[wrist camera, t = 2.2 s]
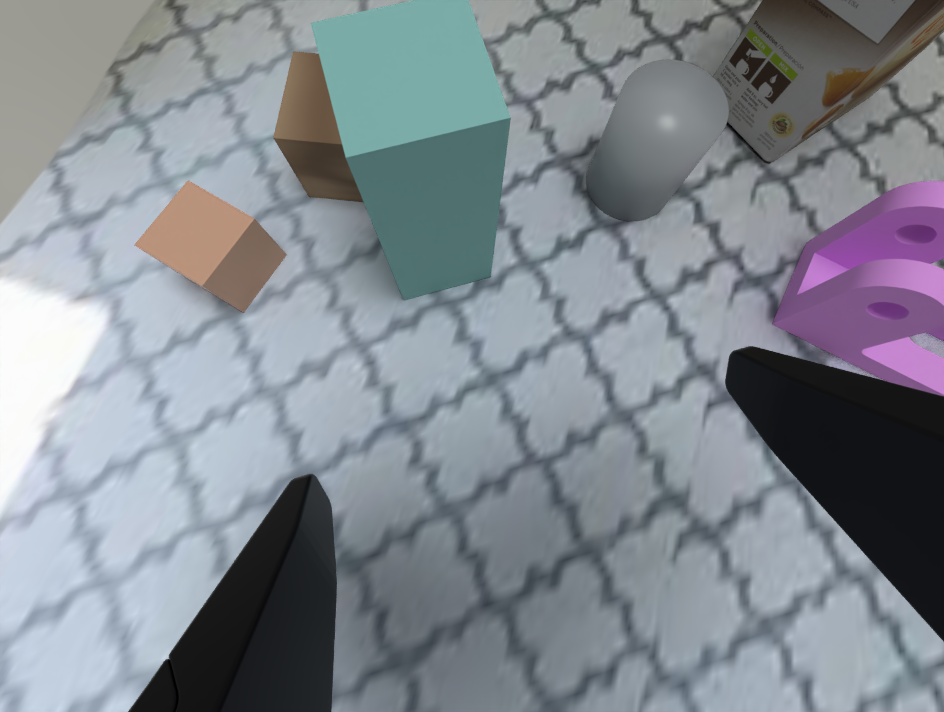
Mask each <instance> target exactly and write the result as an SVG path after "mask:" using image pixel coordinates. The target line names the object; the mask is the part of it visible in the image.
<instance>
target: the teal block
mask: <svg viewBox="0 0 944 712" xmlns="http://www.w3.org/2000/svg"><path fill="white" fill-rule="evenodd" d="M311 25H312V29H313V33H314V37H315V41H316V45H317V49H318V52H319V56H320V60H321V64H322V68H323V72H324V76H325V80H326V83H327V87H328V91H329V95H330V99H331V103H332V107H333V111H334V114H335V118H336V122H337V126H338V130H339V134H340V138H341V141H342V145H343V149H344V153H345V157H346V160H347V162H348V165H349V167H350V170H351V172H352V174H353V177H354V179H355V182H356V184H357V187H358V189H359V192H360V194H361V197H362V199H363V201H364V204H365V206H366V209H367V211H368V214H369V216H370V219H371V221H372V224H373V226H374V229H375V231H376V233H377V236H378V238H379V241H380V243H381V246H382V248H383V251H384V253H385V256H386V258H387V260H388V263H389V265H390V268H391V270H392V273H393V275H394V278H395V280H396V283H397V285H398V288H399V290H400V292H401V295H402V297H403V300H407V299H410V298H414V297H418V296H422V295H425V294H429V293H433V292H437V291H440V290H444V289H448V288H451V287H455V286H459V285H463V284H466V283H470V282H474V281H478V280H481V279H485V278H489V277H491V269H492V262H493V254H494V246H495V238H496V230H497V222H498V214H499V206H500V198H501V190H502V182H503V174H504V166H505V158H506V150H507V143H508V135H509V127H510V119H511V117H510V115H509V112H508V109H507V106H506V103H505V101H504V98H503V95H502V92H501V89H500V87H499V84H498V81H497V78H496V76H495V73H494V70H493V67H492V64H491V62H490V59H489V56H488V53H487V50H486V48H485V45H484V42H483V39H482V37H481V34H480V31H479V28H478V25H477V23H476V20H475V17H474V14H473V11H472V9H471V6H470V3H469V0H413V1H408V2H404V3H399V4H395V5H390V6H386V7H381V8H376V9H372V10H367V11H363V12H358V13H354V14H349V15H345V16H340V17H335V18H331V19H326V20H322V21H317V22H313V23H311Z"/></svg>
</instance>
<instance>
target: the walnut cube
mask: <svg viewBox="0 0 944 712" xmlns="http://www.w3.org/2000/svg"><path fill="white" fill-rule="evenodd" d="M274 140H275V141H276V143H277V145H278V146H279V148H280V150H281V151H282V153H283V155H284V156H285V158H286V159H287V161H288V163H289V164H290V166H291V168H292V169H293V171H294V173H295V174H296V176H297V177H298V179H299V181H300V182H301V184H302V186H303V187H304V189H305V191H306V192H307V194H308V196H309V197H317V198H327V199H338V200H348V201H358V202H364V201H363V199H362V197H361V194H360V192H359V189H358V187H357V184H356V182H355V179H354V177H353V174H352V172H351V170H350V167H349V165H348V162H347V160H346V157H345V153H344V149H343V145H342V141H341V138H340V134H339V130H338V126H337V122H336V118H335V114H334V111H333V107H332V103H331V99H330V95H329V91H328V87H327V83H326V80H325V76H324V72H323V68H322V64H321V60H320V56H319V54H315V53H304V52H293V55H292V59H291V63H290V68H289V72H288V77H287V81H286V85H285V90H284V94H283V98H282V103H281V107H280V111H279V116H278V120H277V124H276V129H275V133H274Z"/></svg>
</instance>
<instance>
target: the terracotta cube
mask: <svg viewBox="0 0 944 712" xmlns="http://www.w3.org/2000/svg"><path fill="white" fill-rule="evenodd" d="M135 246H136V247H138V248H140V249H141V250H143V251H144V252H146V253H147V254H149V255H151V256H152V257H154V258H155V259H157V260H159V261H160V262H162V263H163V264H165V265H166V266H168V267H170V268H171V269H173V270H174V271H176V272H177V273H179V274H181V275H182V276H184V277H185V278H187V279H189V280H190V281H192V282H194V283H195V284H197V285H199V286H200V287H202V288H203V289H205V290H207V291H208V292H210V293H212V294H213V295H215V296H217V297H218V298H220V299H222V300H223V301H225V302H227V303H228V304H230V305H231V306H233V307H235V308H236V309H238V310H240V311H241V312H243V313H244V312H245V310H246V309H247V308H248V306H249V305H250V303H251V302H252V301H253V299H254V298H255V297H256V295H257V294H258V293H259V291H260V290H261V289H262V287H263V286H264V285H265V283H266V282H267V281H268V279H269V278H270V277H271V275H272V274H273V273H274V271H275V270H276V269H277V267H278V266H279V265H280V263H281V262H282V261H283V259H284V258H285V257H286V255H287V254H286V253H285V252H284V251H283V250H282V249H281V248H280V247H279V245H278V244H277V243H276V242H275V241H274V240H273V239H272V238H271V237H270V235H269V234H268V233H267V232H266V231H265V230H264V229H263V228H262V226H261V225H260V224H259V223H258V222H257V221H256V220H255V219H254V218H252V217H251V216H249V215H247V214H246V213H244V212H242V211H240V210H239V209H237V208H235V207H233V206H232V205H230V204H228V203H227V202H225V201H223V200H221V199H220V198H218V197H216V196H214V195H213V194H211V193H209V192H208V191H206V190H204V189H202V188H201V187H199V186H197V185H195V184H194V183H192V182H190V181H187V182H186V183H185V185H184V186H183V187H182V188H181V189H180V191H179V192H178V193H177V194H176V195H175V197H174V198H173V199H172V200H171V201H170V203H169V204H168V205H167V206H166V207H165V209H164V210H163V211H162V212H161V213H160V215H159V216H158V217H157V218H156V219H155V221H154V222H153V223H152V224H151V225H150V227H149V228H148V229H147V230H146V231H145V233H144V234H143V235H142V236H141V237H140V239H139V240H138V241H137V242H136V243H135Z"/></svg>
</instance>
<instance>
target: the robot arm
mask: <svg viewBox="0 0 944 712" xmlns="http://www.w3.org/2000/svg"><path fill="white" fill-rule="evenodd" d="M725 384H726V388H727V390H728V392H729V394H730V395H731V396H732V398H733V399H734V401H735V402H736V403H737V405H738V406H739V407H740V409H741V410H742V411H743V413H744V414H745V416H746V417H747V418H748V420H749V421H750V422H751V424H752V425H753V426H754V428H755V429H756V431H757V432H758V433H759V435H760V436H761V437H762V439H763V440H764V441H765V443H766V444H767V445H768V446H769V448H770V449H771V450H772V451H773V452H774V454H775V455H776V456H777V457H778V458H779V459H780V460H781V462H782V463H783V464H784V465H785V466H786V467H787V468H788V469H789V470H790V472H791V473H792V474H793V475H794V476H795V477H796V478H797V479H798V480H799V482H800V483H801V484H802V485H803V486H804V487H805V488H806V489H807V490H808V492H809V493H810V494H811V495H812V496H813V497H814V498H815V499H816V500H817V502H818V503H819V504H820V505H821V506H822V507H823V508H824V509H825V510H826V512H827V513H828V514H829V515H830V516H831V517H832V518H833V519H834V520H835V521H836V523H837V524H838V525H839V526H840V527H841V528H842V529H843V530H844V531H845V533H846V534H847V535H848V536H849V537H850V538H851V539H852V540H853V541H854V543H855V544H856V545H857V546H858V547H859V548H860V549H861V550H862V551H863V553H864V554H865V555H866V556H867V557H868V558H869V559H870V560H871V561H872V563H873V564H874V565H875V566H876V567H877V568H878V569H879V570H880V571H881V573H882V574H883V575H884V576H885V577H886V578H887V579H888V580H889V581H890V582H891V584H892V585H893V586H894V587H895V588H896V589H897V590H898V591H899V592H900V594H901V595H902V596H903V597H904V598H905V599H906V600H907V601H908V602H909V604H910V605H911V606H912V607H913V608H914V609H915V610H916V611H917V612H918V614H919V615H920V616H921V617H922V618H923V619H924V620H925V621H926V622H927V624H928V625H929V626H930V627H931V628H932V629H933V630H934V631H935V632H936V634H937V635H938V636H939V637H940V638H941V639H942V640H943V641H944V396H941V395H937V394H933V393H929V392H925V391H921V390H918V389H914V388H910V387H906V386H902V385H899V384H895V383H891V382H887V381H883V380H879V379H876V378H872V377H868V376H864V375H860V374H857V373H853V372H849V371H845V370H841V369H837V368H834V367H830V366H826V365H822V364H818V363H815V362H811V361H807V360H803V359H799V358H796V357H792V356H788V355H784V354H780V353H777V352H773V351H769V350H765V349H761V348H758V347H753V346H749V347H745V348H741V349H738V350H735V351H733V352H732V353H731V354H730V356H729V361H728V367H727V373H726V379H725ZM336 595H337V578H336V561H335V547H334V533H333V519H332V508H331V503H330V500H329V498H328V496H327V495H326V493H325V491H324V489H323V488H322V486H321V484H320V482H319V481H318V479H317V477H316V476H315V475H314V474H307V475H304V476H301V477H297V478H294V479H293V480H291V481H290V483H289V484H288V485H287V487H286V488H285V490H284V491H283V493H282V494H281V495H280V497H279V498H278V500H277V501H276V503H275V504H274V505H273V507H272V508H271V510H270V511H269V513H268V514H267V515H266V517H265V518H264V520H263V521H262V523H261V524H260V525H259V527H258V528H257V530H256V531H255V533H254V534H253V535H252V537H251V538H250V540H249V541H248V543H247V544H246V545H245V547H244V548H243V550H242V551H241V553H240V554H239V555H238V557H237V558H236V560H235V561H234V563H233V564H232V565H231V567H230V568H229V570H228V571H227V573H226V574H225V575H224V577H223V578H222V580H221V581H220V583H219V584H218V585H217V587H216V588H215V590H214V591H213V592H212V594H211V595H210V597H209V598H208V600H207V601H206V602H205V604H204V605H203V607H202V608H201V610H200V611H199V612H198V614H197V615H196V617H195V618H194V620H193V621H192V622H191V624H190V625H189V627H188V628H187V630H186V631H185V632H184V634H183V635H182V637H181V638H180V640H179V641H178V642H177V644H176V645H175V647H174V648H173V650H172V651H171V652H170V654H169V659H166V660H165V661H164V662H163V664H162V665H161V666H160V668H159V669H158V671H157V672H156V674H155V675H154V676H153V678H152V679H151V681H150V682H149V684H148V685H147V686H146V688H145V689H144V690H143V692H142V693H141V695H140V696H139V697H138V699H137V700H136V702H135V703H134V704H133V706H132V707H131V708H130V710H129V711H128V712H331V708H332V686H333V663H334V640H335V618H336Z"/></svg>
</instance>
